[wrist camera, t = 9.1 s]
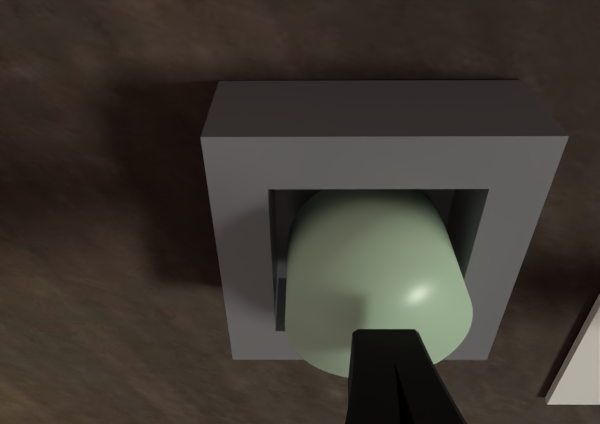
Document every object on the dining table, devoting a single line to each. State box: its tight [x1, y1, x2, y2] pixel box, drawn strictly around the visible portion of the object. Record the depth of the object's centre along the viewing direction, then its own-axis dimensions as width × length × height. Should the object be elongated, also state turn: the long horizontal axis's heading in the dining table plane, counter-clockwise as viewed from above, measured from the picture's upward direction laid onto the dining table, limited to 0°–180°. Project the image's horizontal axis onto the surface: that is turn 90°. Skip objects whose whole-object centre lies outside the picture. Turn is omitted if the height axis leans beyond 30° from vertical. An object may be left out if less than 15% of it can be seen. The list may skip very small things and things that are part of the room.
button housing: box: [200, 80, 569, 360], centre depth 15 cm, size 8×8×3 cm
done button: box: [285, 189, 473, 378], centre depth 13 cm, size 4×4×3 cm
